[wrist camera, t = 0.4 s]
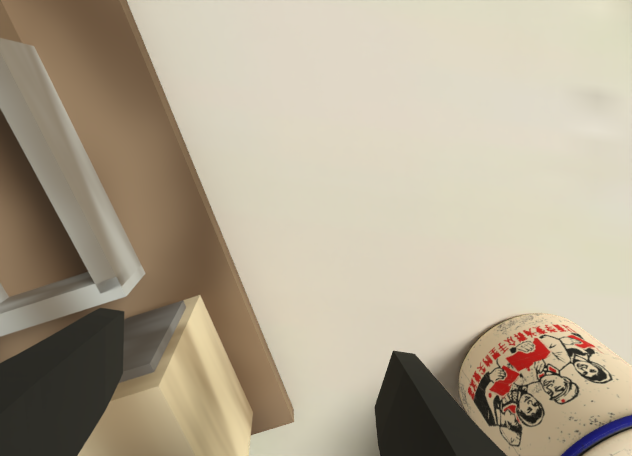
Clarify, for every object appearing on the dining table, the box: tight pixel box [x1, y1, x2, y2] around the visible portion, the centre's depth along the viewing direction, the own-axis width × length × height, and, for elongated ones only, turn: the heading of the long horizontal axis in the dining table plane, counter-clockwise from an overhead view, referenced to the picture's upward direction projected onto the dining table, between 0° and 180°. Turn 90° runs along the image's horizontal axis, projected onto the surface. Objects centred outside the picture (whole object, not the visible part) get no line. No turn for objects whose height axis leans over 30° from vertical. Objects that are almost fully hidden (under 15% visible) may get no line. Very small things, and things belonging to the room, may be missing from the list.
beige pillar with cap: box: [78, 295, 253, 456], centre depth 18 cm, size 4×8×7 cm, turn 17°
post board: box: [0, 0, 294, 435], centre depth 17 cm, size 16×28×7 cm, turn 17°
